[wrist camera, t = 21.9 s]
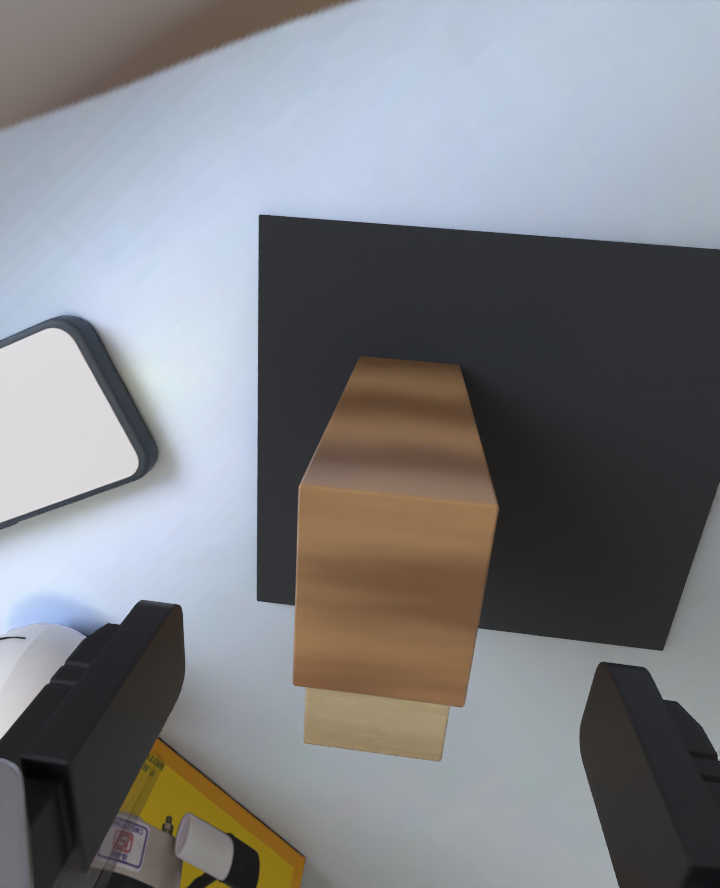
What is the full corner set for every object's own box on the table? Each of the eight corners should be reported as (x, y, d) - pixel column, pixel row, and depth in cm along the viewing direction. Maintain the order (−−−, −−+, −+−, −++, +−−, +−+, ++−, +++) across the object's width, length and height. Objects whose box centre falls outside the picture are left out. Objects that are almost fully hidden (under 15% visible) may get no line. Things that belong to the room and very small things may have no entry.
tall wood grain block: (348, 518, 29) (359, 355, 26) (438, 528, 29) (460, 364, 26) (289, 754, 16) (298, 484, 13) (452, 777, 16) (500, 506, 13)
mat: (786, 254, 23) (795, 255, 23) (659, 643, 31) (663, 651, 30) (262, 214, 25) (258, 214, 24) (259, 594, 32) (256, 601, 32)
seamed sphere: (92, 582, 33) (6, 675, 26) (149, 680, 35) (84, 788, 28) (-44, 619, 35) (-156, 714, 28) (18, 709, 37) (-71, 817, 31)
